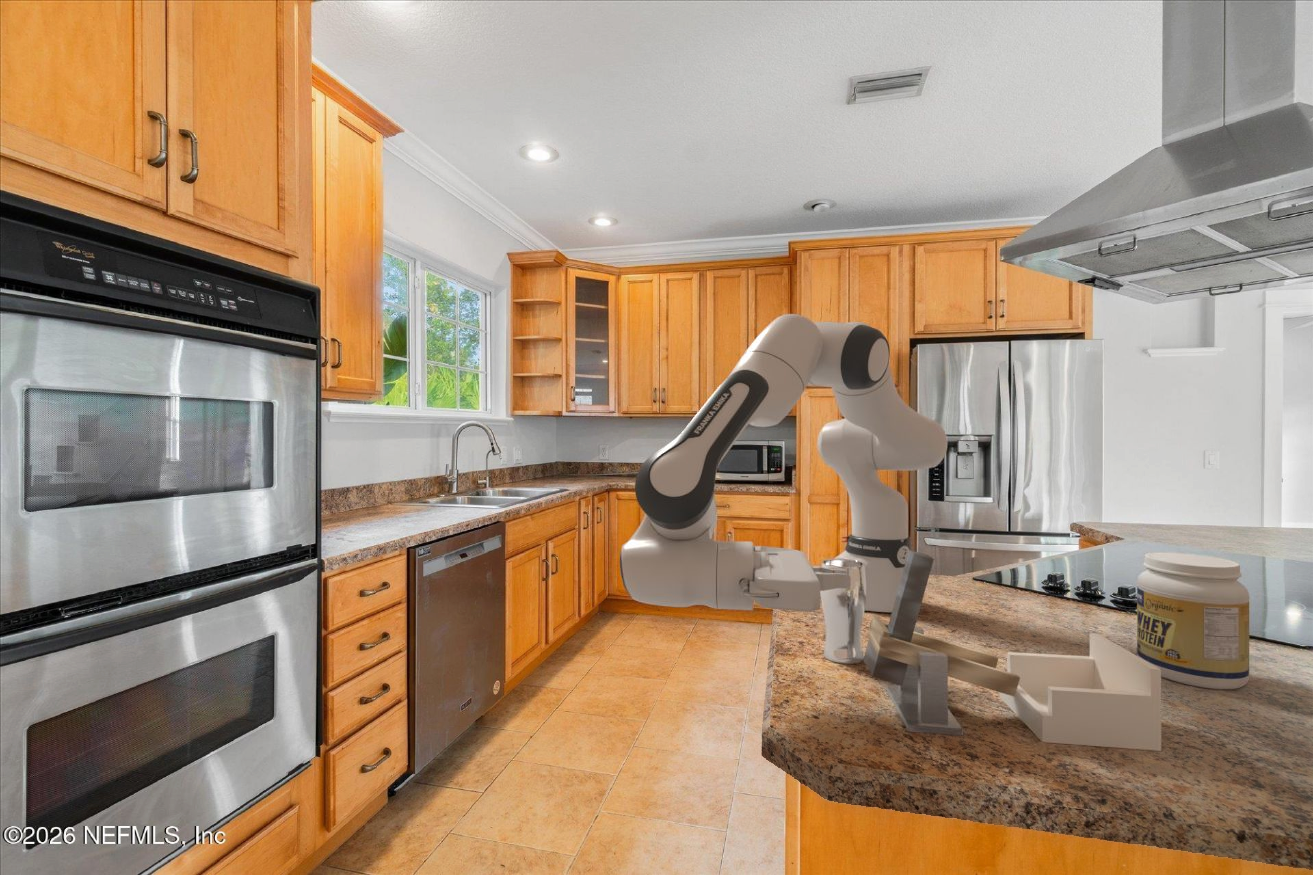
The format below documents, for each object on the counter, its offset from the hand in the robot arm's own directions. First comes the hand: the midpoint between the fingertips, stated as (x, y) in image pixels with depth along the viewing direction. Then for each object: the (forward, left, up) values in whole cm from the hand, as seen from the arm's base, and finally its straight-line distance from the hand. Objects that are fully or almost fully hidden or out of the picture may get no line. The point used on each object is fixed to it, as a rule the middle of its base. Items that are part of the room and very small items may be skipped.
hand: (848, 578), depth 76 cm
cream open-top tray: (+17, +20, -16) cm, 31 cm away
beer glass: (-13, +13, -17) cm, 25 cm away
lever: (+6, +8, -13) cm, 17 cm away
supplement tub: (+18, +51, -17) cm, 57 cm away
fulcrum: (+5, +7, -16) cm, 19 cm away
